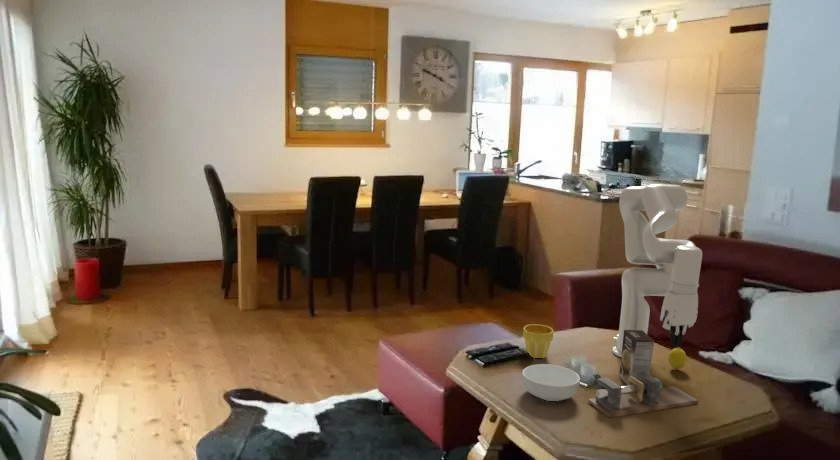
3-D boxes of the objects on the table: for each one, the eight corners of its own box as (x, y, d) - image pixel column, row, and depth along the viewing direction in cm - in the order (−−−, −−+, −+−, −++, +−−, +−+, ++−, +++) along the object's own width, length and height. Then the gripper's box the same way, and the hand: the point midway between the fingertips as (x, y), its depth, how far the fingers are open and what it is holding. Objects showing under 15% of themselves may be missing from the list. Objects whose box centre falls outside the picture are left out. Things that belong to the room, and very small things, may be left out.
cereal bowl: (580, 390, 199) (582, 368, 198) (575, 413, 183) (577, 390, 182) (526, 380, 204) (527, 359, 203) (516, 402, 189) (517, 379, 187)
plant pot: (515, 353, 226) (517, 326, 224) (535, 347, 232) (537, 321, 230) (536, 363, 218) (539, 336, 216) (557, 357, 224) (560, 330, 222)
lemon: (686, 374, 214) (689, 351, 213) (668, 372, 215) (671, 349, 214) (683, 367, 220) (685, 345, 218) (666, 365, 221) (668, 343, 219)
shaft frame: (673, 389, 202) (676, 365, 201) (697, 403, 193) (700, 378, 191) (588, 402, 191) (590, 377, 189) (609, 417, 182) (612, 391, 180)
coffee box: (618, 376, 210) (623, 329, 207) (637, 376, 211) (642, 329, 208) (629, 388, 202) (634, 339, 198) (649, 388, 202) (654, 339, 199)
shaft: (651, 389, 195) (652, 375, 194) (661, 395, 191) (662, 381, 190) (593, 397, 187) (594, 383, 187) (602, 404, 183) (604, 390, 183)
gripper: (693, 282, 195) (685, 338, 199) (654, 285, 189) (646, 343, 193) (712, 289, 188) (704, 348, 192) (672, 293, 183) (664, 353, 187)
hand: (675, 345), depth 193 cm, fingers closed
